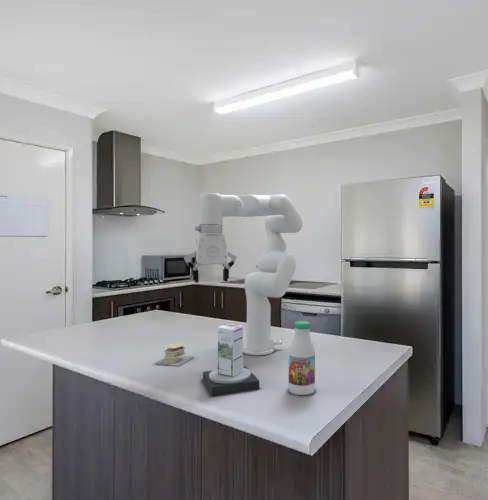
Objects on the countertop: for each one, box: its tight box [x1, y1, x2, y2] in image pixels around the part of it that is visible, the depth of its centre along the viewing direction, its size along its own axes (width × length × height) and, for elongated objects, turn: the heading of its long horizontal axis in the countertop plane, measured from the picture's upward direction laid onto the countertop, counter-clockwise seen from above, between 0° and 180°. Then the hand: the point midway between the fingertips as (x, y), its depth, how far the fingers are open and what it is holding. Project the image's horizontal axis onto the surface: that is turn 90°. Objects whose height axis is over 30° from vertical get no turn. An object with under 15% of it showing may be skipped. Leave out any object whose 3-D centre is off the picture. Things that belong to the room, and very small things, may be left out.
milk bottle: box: [288, 320, 316, 396], centre depth 107 cm, size 8×8×20 cm
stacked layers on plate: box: [156, 342, 193, 367], centre depth 134 cm, size 10×9×6 cm
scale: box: [202, 365, 260, 397], centre depth 112 cm, size 14×14×3 cm
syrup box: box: [217, 323, 244, 377], centre depth 112 cm, size 6×6×14 cm
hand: (211, 281), depth 122 cm, fingers open, 9 cm apart
